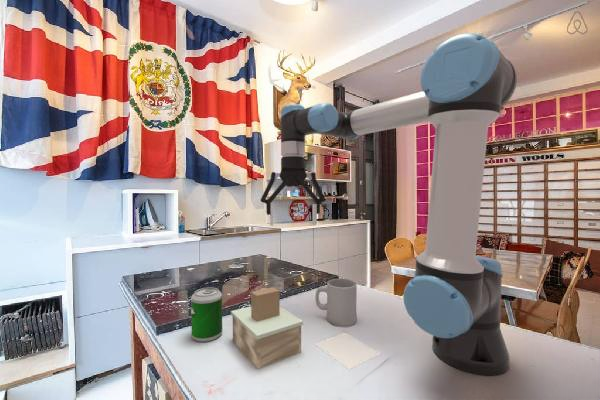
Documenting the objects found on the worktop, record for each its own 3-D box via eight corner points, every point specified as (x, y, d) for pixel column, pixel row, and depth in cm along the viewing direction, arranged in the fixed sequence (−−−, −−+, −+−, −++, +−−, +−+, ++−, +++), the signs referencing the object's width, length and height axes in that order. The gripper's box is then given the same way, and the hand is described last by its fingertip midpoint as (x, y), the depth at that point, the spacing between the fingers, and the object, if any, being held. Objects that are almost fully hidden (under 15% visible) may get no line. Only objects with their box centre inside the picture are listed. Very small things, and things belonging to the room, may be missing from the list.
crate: (301, 354, 67) (301, 324, 67) (257, 371, 61) (257, 338, 60) (271, 330, 79) (271, 304, 78) (232, 342, 72) (232, 314, 72)
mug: (357, 315, 88) (357, 279, 87) (355, 328, 79) (356, 288, 79) (317, 311, 90) (317, 276, 90) (312, 323, 82) (312, 285, 82)
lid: (303, 328, 67) (303, 295, 66) (257, 344, 60) (256, 307, 60) (272, 307, 79) (271, 279, 78) (230, 318, 72) (230, 287, 72)
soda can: (227, 332, 77) (227, 287, 77) (212, 347, 70) (211, 298, 70) (203, 328, 79) (202, 285, 79) (185, 342, 72) (184, 295, 72)
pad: (381, 356, 66) (381, 353, 66) (349, 372, 60) (349, 369, 60) (344, 334, 76) (344, 332, 76) (314, 346, 70) (314, 343, 70)
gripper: (328, 158, 96) (328, 222, 97) (252, 157, 92) (253, 224, 93) (335, 156, 89) (335, 225, 90) (252, 154, 85) (253, 227, 85)
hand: (293, 224), depth 91 cm, fingers open, 13 cm apart
